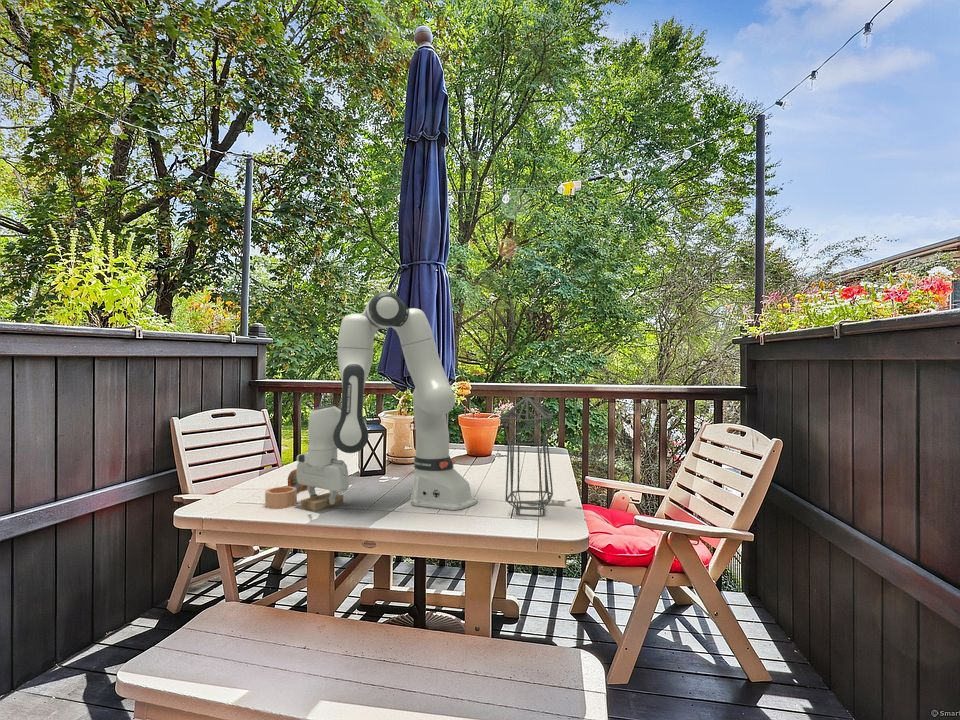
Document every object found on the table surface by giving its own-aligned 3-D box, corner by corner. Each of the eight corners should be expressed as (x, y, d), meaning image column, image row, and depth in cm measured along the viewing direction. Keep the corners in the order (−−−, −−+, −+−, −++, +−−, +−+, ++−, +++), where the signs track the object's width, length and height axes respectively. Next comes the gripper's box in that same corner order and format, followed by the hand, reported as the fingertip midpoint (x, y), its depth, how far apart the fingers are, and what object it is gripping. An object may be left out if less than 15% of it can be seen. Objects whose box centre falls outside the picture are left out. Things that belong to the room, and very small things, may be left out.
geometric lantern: (553, 522, 142) (551, 399, 142) (499, 519, 145) (496, 399, 145) (557, 506, 157) (555, 395, 157) (508, 503, 160) (505, 395, 160)
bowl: (302, 504, 157) (302, 488, 157) (277, 511, 150) (277, 495, 150) (284, 500, 162) (284, 485, 162) (259, 507, 154) (259, 491, 154)
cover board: (343, 503, 158) (343, 495, 158) (315, 511, 148) (315, 503, 148) (328, 500, 161) (329, 492, 161) (300, 508, 152) (300, 500, 152)
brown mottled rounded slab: (294, 496, 167) (294, 471, 167) (285, 496, 168) (285, 471, 168) (317, 486, 182) (317, 463, 182) (309, 485, 182) (309, 462, 182)
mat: (350, 505, 156) (350, 504, 156) (320, 515, 146) (320, 513, 146) (324, 500, 163) (324, 498, 163) (293, 509, 153) (293, 507, 153)
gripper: (354, 459, 152) (353, 504, 152) (309, 452, 163) (308, 495, 162) (338, 462, 147) (337, 509, 146) (293, 455, 157) (292, 499, 157)
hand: (322, 502), depth 154 cm, fingers closed on cover board, 6 cm apart
